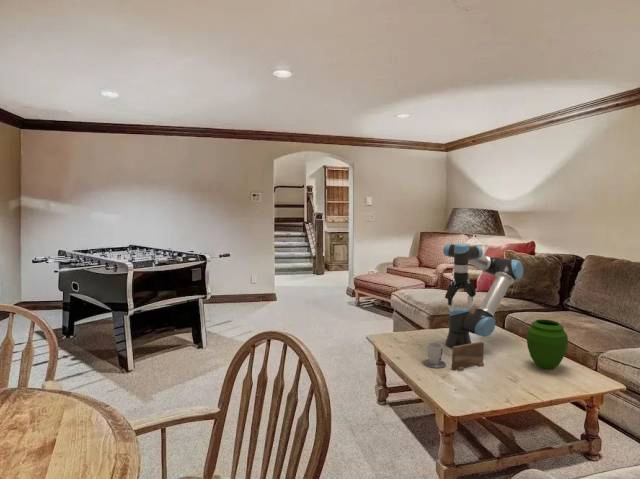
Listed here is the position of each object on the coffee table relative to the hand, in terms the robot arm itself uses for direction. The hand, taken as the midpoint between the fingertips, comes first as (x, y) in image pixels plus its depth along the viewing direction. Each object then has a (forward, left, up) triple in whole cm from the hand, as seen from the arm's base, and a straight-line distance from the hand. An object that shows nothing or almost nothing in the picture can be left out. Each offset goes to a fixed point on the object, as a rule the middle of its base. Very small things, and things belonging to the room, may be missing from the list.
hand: (460, 309), depth 226 cm
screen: (+11, -4, -28) cm, 31 cm away
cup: (+1, -18, -28) cm, 33 cm away
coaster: (+1, -18, -28) cm, 34 cm away
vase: (+29, +33, -28) cm, 52 cm away
